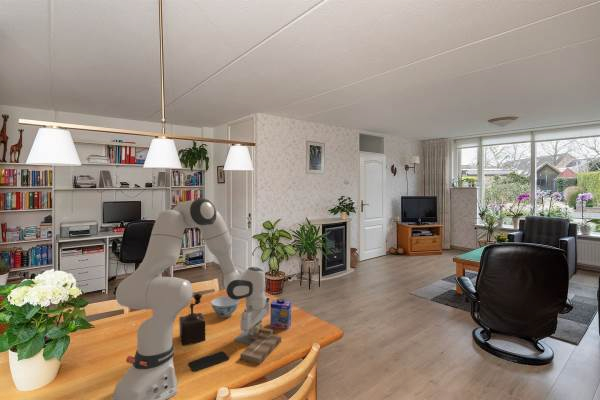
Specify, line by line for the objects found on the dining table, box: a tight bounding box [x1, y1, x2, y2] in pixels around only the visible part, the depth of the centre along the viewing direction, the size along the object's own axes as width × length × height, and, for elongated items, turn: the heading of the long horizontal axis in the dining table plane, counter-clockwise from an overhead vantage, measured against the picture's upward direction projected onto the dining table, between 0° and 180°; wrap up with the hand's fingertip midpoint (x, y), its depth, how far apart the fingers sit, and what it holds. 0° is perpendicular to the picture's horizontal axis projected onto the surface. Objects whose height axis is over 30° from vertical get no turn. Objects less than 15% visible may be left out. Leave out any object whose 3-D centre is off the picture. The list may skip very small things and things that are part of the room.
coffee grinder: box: [178, 292, 207, 346], centre depth 142 cm, size 16×11×18 cm
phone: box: [187, 350, 230, 373], centre depth 122 cm, size 7×1×15 cm
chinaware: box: [210, 295, 240, 318], centre depth 166 cm, size 15×15×8 cm
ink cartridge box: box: [269, 298, 292, 330], centre depth 154 cm, size 10×6×14 cm, turn 78°
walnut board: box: [239, 333, 282, 366], centre depth 131 cm, size 20×9×3 cm, turn 158°
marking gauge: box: [248, 323, 273, 340], centre depth 139 cm, size 4×11×6 cm, turn 68°
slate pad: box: [232, 330, 255, 346], centre depth 141 cm, size 10×11×1 cm
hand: (255, 331), depth 140 cm, fingers closed on marking gauge, 4 cm apart
